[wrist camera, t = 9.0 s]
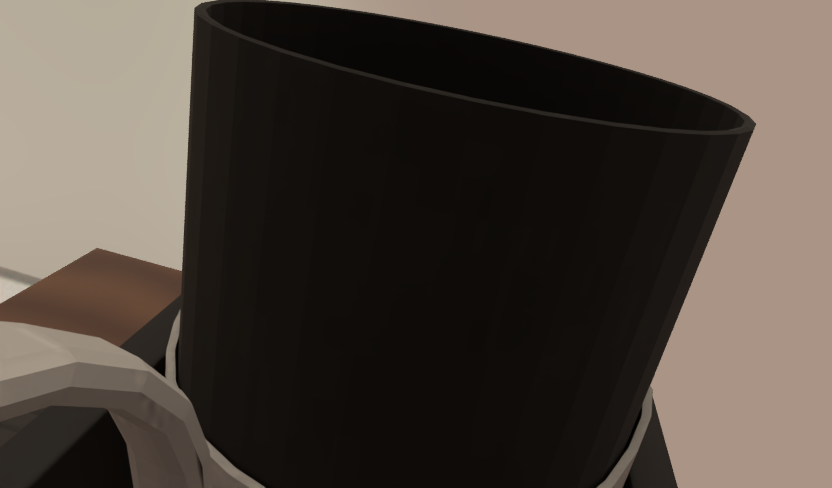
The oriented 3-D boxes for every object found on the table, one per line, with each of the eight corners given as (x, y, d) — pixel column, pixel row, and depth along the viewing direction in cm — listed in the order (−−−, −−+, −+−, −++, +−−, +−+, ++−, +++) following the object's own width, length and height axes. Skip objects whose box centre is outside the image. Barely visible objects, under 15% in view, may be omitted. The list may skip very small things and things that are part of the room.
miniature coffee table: (115, 587, 28) (117, 468, 26) (-124, 510, 30) (-147, 387, 27) (260, 385, 43) (271, 295, 40) (97, 338, 44) (97, 247, 41)
